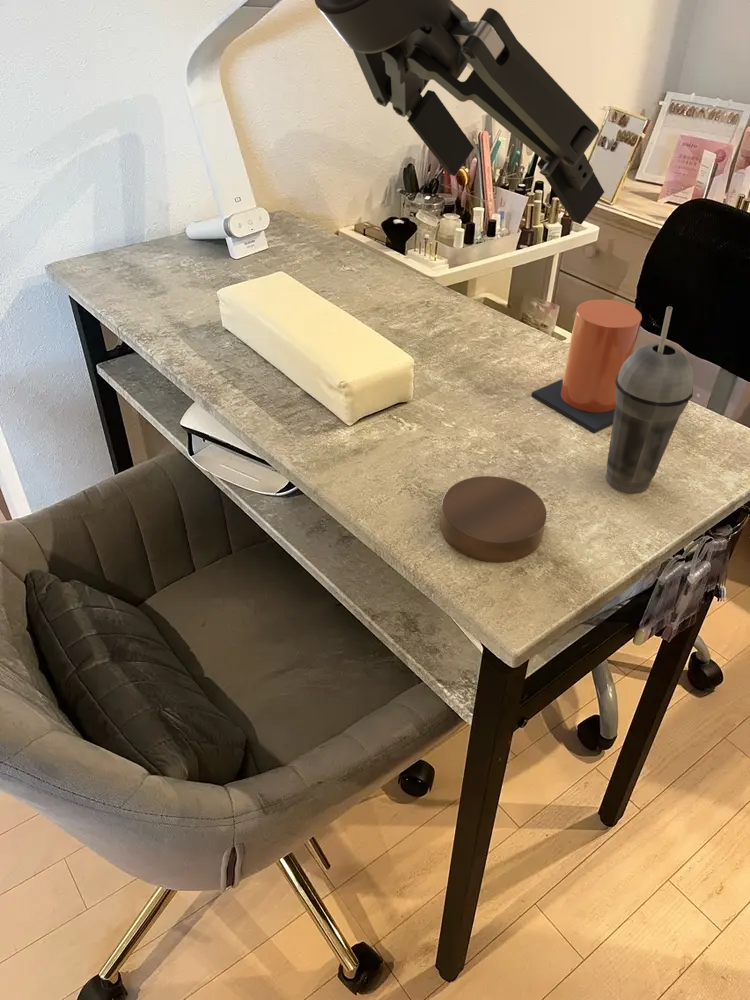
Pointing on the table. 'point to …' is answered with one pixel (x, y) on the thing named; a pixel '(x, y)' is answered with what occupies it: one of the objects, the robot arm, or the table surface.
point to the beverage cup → (646, 411)
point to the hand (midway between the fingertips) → (520, 182)
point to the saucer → (492, 518)
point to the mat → (586, 419)
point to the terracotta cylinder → (598, 353)
